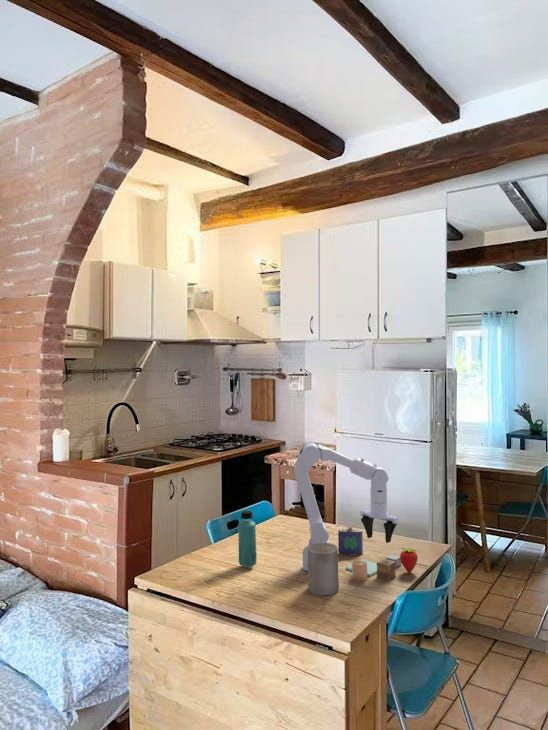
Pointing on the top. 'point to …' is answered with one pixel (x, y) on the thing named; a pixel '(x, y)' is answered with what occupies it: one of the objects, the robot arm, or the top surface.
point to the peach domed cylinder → (359, 570)
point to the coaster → (370, 568)
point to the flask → (350, 541)
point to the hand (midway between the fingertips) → (378, 539)
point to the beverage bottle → (247, 540)
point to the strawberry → (408, 559)
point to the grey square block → (394, 559)
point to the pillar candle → (323, 569)
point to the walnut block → (386, 569)
